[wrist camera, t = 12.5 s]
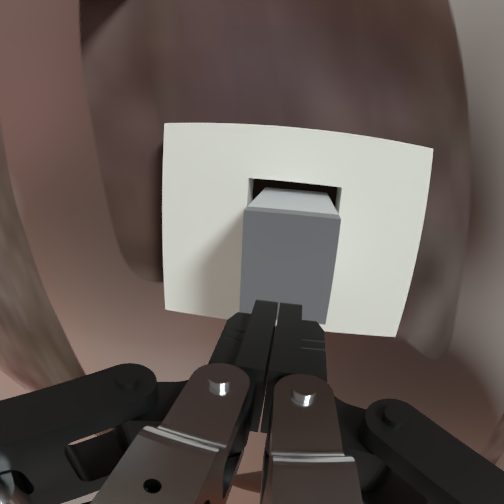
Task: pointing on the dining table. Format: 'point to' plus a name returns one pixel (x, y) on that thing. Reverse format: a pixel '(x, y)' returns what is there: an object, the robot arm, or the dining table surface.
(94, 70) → the dining table surface
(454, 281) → the dining table surface
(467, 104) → the dining table surface
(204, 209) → the socket plate
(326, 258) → the plug
